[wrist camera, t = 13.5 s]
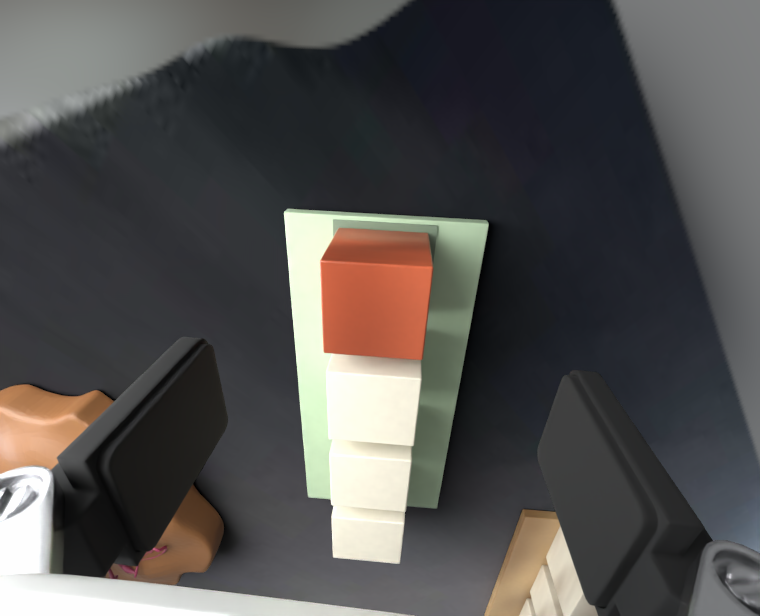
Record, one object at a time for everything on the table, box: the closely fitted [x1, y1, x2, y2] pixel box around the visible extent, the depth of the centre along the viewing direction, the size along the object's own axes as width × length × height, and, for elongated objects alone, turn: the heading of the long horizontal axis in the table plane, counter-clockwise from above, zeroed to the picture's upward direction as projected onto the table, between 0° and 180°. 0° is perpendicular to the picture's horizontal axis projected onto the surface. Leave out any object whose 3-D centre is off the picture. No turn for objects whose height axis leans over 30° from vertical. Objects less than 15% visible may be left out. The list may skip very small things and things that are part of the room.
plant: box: [0, 384, 224, 585], centre depth 23 cm, size 20×20×11 cm
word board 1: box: [284, 209, 489, 564], centre depth 20 cm, size 9×20×5 cm, turn 178°
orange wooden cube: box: [320, 228, 434, 360], centre depth 16 cm, size 4×4×4 cm
